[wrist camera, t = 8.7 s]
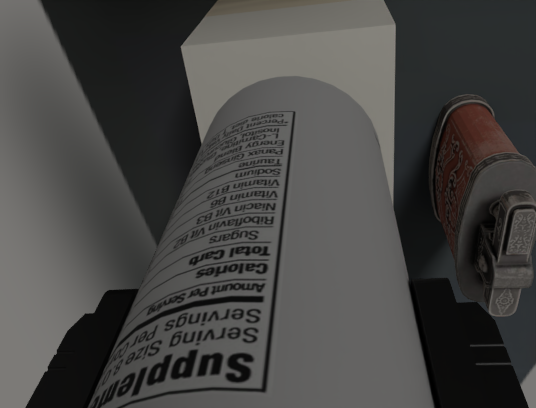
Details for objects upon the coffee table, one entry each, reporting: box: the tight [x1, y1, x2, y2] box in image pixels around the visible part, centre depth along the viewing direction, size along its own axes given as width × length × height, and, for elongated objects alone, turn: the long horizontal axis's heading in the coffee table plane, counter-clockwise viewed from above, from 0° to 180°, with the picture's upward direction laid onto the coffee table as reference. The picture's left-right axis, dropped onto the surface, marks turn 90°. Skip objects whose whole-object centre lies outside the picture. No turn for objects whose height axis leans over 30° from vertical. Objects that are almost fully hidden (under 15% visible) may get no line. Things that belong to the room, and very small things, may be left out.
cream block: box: [181, 0, 396, 204], centre depth 21 cm, size 8×8×4 cm
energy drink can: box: [88, 76, 437, 408], centre depth 12 cm, size 6×6×15 cm
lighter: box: [429, 94, 536, 316], centre depth 25 cm, size 8×3×10 cm, turn 6°
